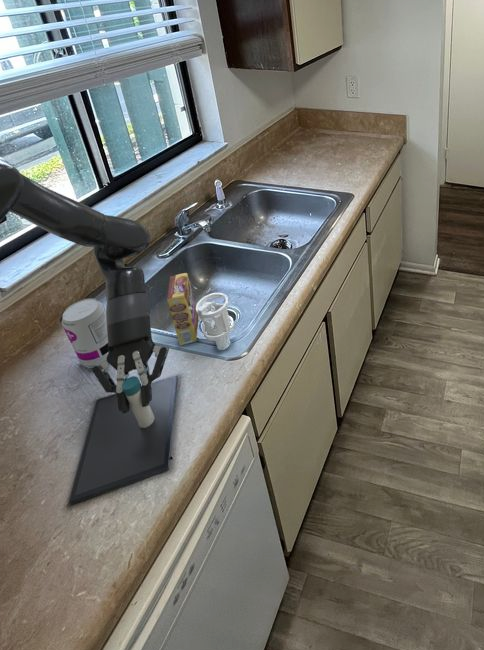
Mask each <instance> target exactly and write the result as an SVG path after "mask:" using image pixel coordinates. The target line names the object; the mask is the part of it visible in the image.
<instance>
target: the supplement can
mask: <svg viewBox="0 0 484 650" xmlns="http://www.w3.org/2000/svg"><path fill="white" fill-rule="evenodd" d="M61 326H62V328H63V330H64V332H65V334H66V336H67V338H68V340H69V343H70V345H71V346H72V348H73V350H74V352H75V355H76V356H77V358H78V361H79V362H80V365H81V366H83V367H84V368H89V369H92V368H93V367H94V366H98V365H99V364H101V363H102V362H104V361H105V360H106V358H107V355H108V352H109V348H108V334H107V321H106V308H105V306H104V304H103V303H102V302H101V301H99V300H98V299H96V298H83V299H81V300H78V301H76V302H74V303H72V304H71V305H69V306H68V307H66V309H65V310H64V311H63V313H62V318H61Z"/></svg>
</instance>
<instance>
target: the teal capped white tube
mask: <svg viewBox="0 0 484 650" xmlns="http://www.w3.org/2000/svg"><path fill="white" fill-rule="evenodd" d="M141 387H142V384H141V380H140V377H138V376H136V375H133V376H129V377H128V379H126V380H125V381H124V382H123V384H122V389H123V391H124V393H125V395H126V397H127V399H128V401H129V404H130V406H131V408H132V410H133V412H134V415H135V417H136V419H137V421H138V423H139V426H140V427H141V428H146V427H148V426H150V425H151V424H152V423H153V421H154V415H153V412H152V410H151V408H150V405H148V406H145V407H142V398H141Z"/></svg>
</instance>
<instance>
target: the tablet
mask: <svg viewBox="0 0 484 650" xmlns="http://www.w3.org/2000/svg"><path fill="white" fill-rule="evenodd" d="M178 379H179V378H178V375H172V376H171V377H170V376H169V377H167V378H163V379H160V380H157V381H152V383H151V390H152V400H151V401H150V402H149V405H150V408H151V410H152V412H153V415H154V421H153V423H152V424H151V425H150V426H148V427H146V428H141V427H140V426H139V423H138V421H137V419H136V417H135V415H134V412H133V410H132V408H131V406H130V404H129V406H130V411H128V412H126V413H122V411H119V409H118V397H117V394H116V393H113V394H111V395H107V396H103V397H100V398H97V399H96V400H95V404H94V406H93V407H94V408H93V411H92V415H91V419H90V422H89V426H88V430H87V433H86V437H85V440H84V444H83V449H82V451H81V455H80V459H79V463H78V467H77V470H76V473H75V478H74V481H73V486H72V489H71V493H70V497H69V501H68V504H69V505H70V506H72V505H75V504H79V503H81V502H84V501H87V500H90V499H92V498H95V497H98V496H100V495H104V494H106V493H109V492H112V491H114V490H117V489H119V488H123V487H125V486H128V485H131V484H133V483H137V482H140V481H143V480H145V479H148V478H151V477H153V476H156V475H159V474H161V473H164V472H167V471H170V467H171V466H170V465H171V456H172V455H171V454H172V444H173V434H174V423H175V413H176V412H175V411H176V402H177V392H178V391H177V390H178Z"/></svg>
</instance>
